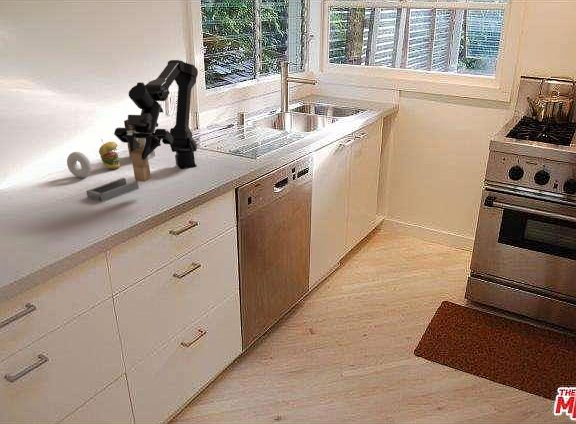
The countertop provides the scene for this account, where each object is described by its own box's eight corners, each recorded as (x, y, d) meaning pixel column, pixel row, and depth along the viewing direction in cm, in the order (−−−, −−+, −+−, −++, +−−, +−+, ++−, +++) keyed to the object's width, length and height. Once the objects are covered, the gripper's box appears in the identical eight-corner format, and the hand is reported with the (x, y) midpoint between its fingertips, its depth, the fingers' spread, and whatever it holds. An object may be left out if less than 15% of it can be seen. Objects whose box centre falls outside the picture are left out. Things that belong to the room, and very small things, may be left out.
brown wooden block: (141, 177, 168) (136, 148, 163) (151, 177, 167) (146, 148, 163) (135, 181, 164) (130, 152, 160) (145, 182, 163) (140, 152, 159)
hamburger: (118, 170, 194) (113, 140, 189) (99, 171, 193) (94, 141, 188) (123, 164, 201) (118, 135, 196) (105, 165, 200) (99, 136, 195)
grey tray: (124, 184, 179) (123, 177, 178) (138, 188, 175) (137, 181, 174) (87, 197, 168) (86, 190, 167) (102, 202, 164) (100, 195, 163)
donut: (95, 177, 188) (90, 151, 184) (88, 180, 185) (83, 154, 181) (74, 174, 191) (69, 149, 187) (67, 177, 188) (62, 152, 184)
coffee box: (128, 158, 208) (122, 120, 202) (137, 154, 214) (132, 117, 207) (147, 160, 205) (141, 121, 199) (156, 155, 211) (151, 118, 204)
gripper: (111, 103, 161) (98, 145, 156) (164, 104, 157) (152, 148, 152) (128, 121, 171) (116, 162, 166) (178, 122, 167) (167, 164, 162)
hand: (137, 158), depth 161 cm, fingers closed on brown wooden block, 3 cm apart
